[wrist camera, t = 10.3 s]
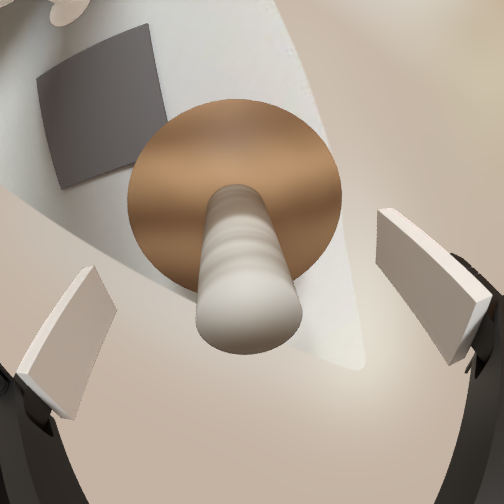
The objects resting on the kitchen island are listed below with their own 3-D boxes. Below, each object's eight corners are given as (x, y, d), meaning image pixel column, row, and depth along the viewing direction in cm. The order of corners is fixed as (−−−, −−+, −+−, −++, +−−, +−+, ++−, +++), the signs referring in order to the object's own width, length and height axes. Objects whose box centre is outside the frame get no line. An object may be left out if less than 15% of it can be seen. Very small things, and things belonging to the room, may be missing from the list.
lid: (105, 134, 16) (-2, 191, 6) (326, 86, 15) (440, 91, 6) (169, 303, 24) (153, 417, 14) (338, 269, 23) (392, 372, 14)
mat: (38, 78, 21) (36, 78, 21) (148, 24, 21) (147, 23, 20) (63, 188, 29) (61, 189, 28) (174, 150, 28) (173, 150, 28)
